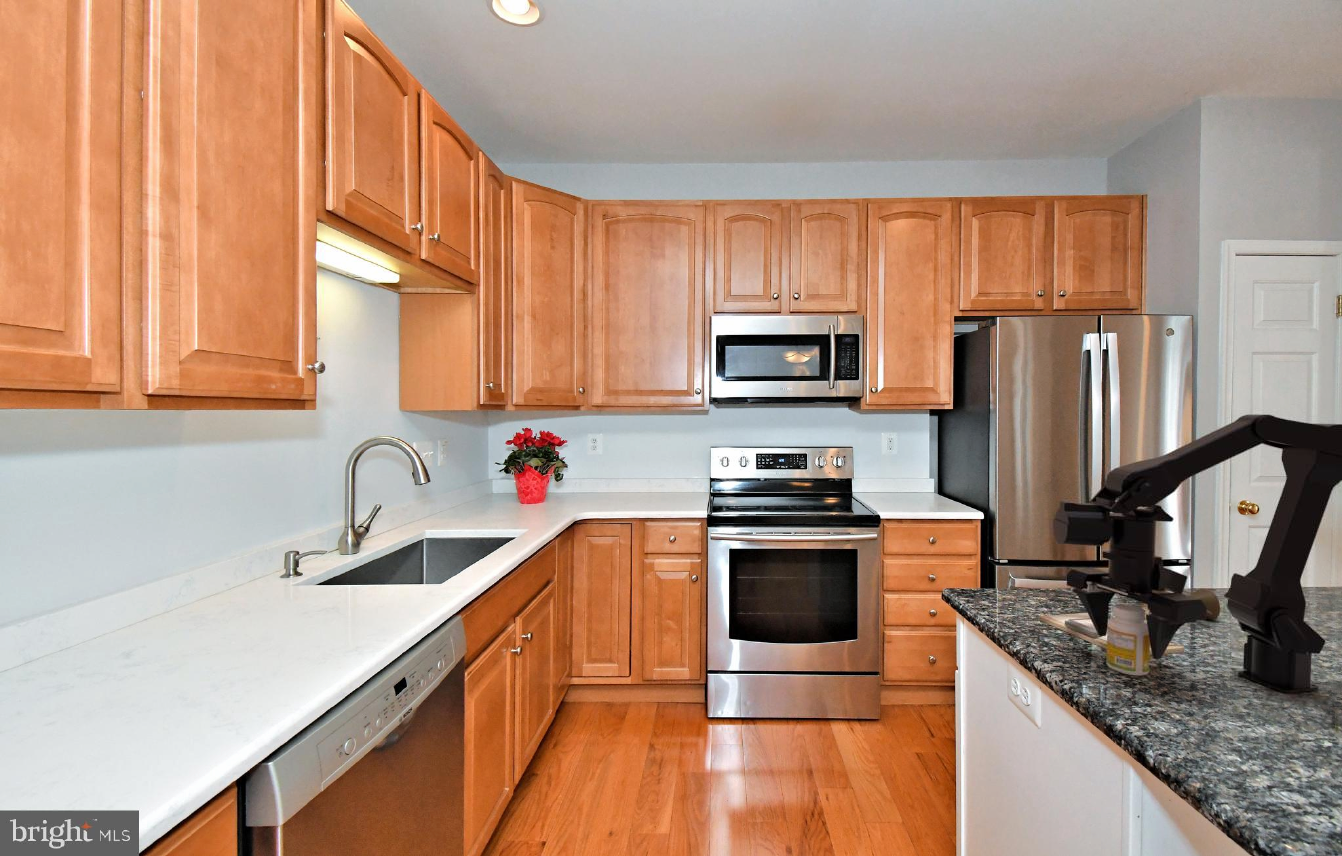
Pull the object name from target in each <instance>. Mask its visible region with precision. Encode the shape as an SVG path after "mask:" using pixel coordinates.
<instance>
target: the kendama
mask: <svg viewBox="0 0 1342 856" xmlns="http://www.w3.org/2000/svg"><path fill="white" fill-rule="evenodd" d="M1153 593H1156V594H1160V593H1170V591H1168V590H1165V591H1153ZM1135 594H1137V593H1135ZM1137 595H1141V594H1137ZM1187 596H1191V597H1194V598H1198V599H1201V600H1202V601H1203V603H1204V604H1205V605H1206V608H1207V611H1206V620H1209V621H1215V620H1216V619H1218V617H1220V614H1221V613H1220V612H1221V604H1220V601H1219V598H1218V596H1217V595H1216V594H1215V593H1214V592H1213V591H1211V590H1210V589H1207V588H1198V589H1196V590H1194V592H1192V593H1190V594H1188V595H1187Z"/></svg>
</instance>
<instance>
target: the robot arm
mask: <svg viewBox="0 0 1342 856" xmlns="http://www.w3.org/2000/svg"><path fill="white" fill-rule="evenodd" d="M1261 445H1265V446H1268V447H1271V448H1275V449H1280V450H1282V451H1281V463H1282V466H1283V468H1284V469H1283V470H1284V472H1285V477H1286V479H1285V483H1284V486H1283V488H1282V491H1281V493H1280V496H1279V500H1278V503H1277V505H1276V508H1275V512H1274V514H1273V516H1272V517H1273V518H1272V520H1271V522H1270V526H1269V528H1268V531H1267V535H1266V537H1265V540H1264V543H1263V545H1262V548H1261V551H1260V553H1259V558H1258V559H1257V563H1256V565H1255V567H1253V569H1252V570H1250V571H1249V572H1248V573H1246V574H1245V575H1242V574H1239V573H1235V572H1234V573H1233V574H1232V576H1231V579H1230V586H1229V588H1228V590H1227V592H1226V593H1225V594H1224V595H1223V597H1224V598H1226V599H1227V603H1226V607H1227V610H1228V611H1229V613H1230V615H1231V616H1232V617H1233V618H1234V619H1235V620H1237V623H1238V626H1239V628H1240V631H1241V632H1243V633H1247V636H1246V642H1245V643H1243V658H1242V659H1243V661H1242V668H1243V670H1238V671H1237V675H1238V676H1240V677H1243V678H1245V679H1249V680H1250V681H1254V682H1256V683H1258V684H1261V685H1264V686H1265V687H1269V688H1271V689H1274V690H1277V691H1279V692H1282V693H1285V694H1291V693H1301V692H1302V693H1303V692H1313V691H1319V690H1320V689H1319V687H1320V686H1318V685H1316V684H1313V683H1311V681H1312V679H1311V678H1312V676H1311V675H1312V658H1313V657H1312V656H1313V655H1312V654H1316V655H1318V654H1321V652H1322V650H1323V648H1324V646H1325V644H1326V639H1325V638H1323V637H1322V636H1321V635H1320V634H1319V633H1318V631H1315V629H1314V628H1312V627H1311V626H1310V625H1309V624H1308V623H1307V622H1306V621H1305V615H1306V608H1307V600H1306V597H1305V594H1304V590H1303V585H1302V582H1301V580H1302V576H1303V573H1304V571H1305V569H1306V566H1307V563H1308V559H1309V557H1310V554H1311V551H1312V548H1313V546H1314V543H1315V540H1316V537H1317V534H1318V532H1319V529H1320V525H1321V523H1322V520H1323V517H1324V514H1325V512H1326V509H1327V506H1328V503H1329V501H1330V498H1331V495H1332V492H1333V490H1334V488H1335V487H1336V486H1337V485H1338V484H1340V483H1341V482H1342V424H1341V423H1308V422H1303V421H1299V420H1293V419H1286V418H1282V417H1277V416H1276V415H1273V414H1244V415H1241V416H1239V417H1238V418H1237V419H1235V421H1232V422H1231V423H1229V424H1226V425H1224V426H1222V427H1220V428H1218V429H1216V430H1213V431H1211V432H1210V433H1208V434H1206V435H1204V436H1201V437H1199V438H1197V439H1195V440H1193V441H1191V442H1189V443H1186V444H1184V445H1182V446H1181V447H1179V448H1176V449H1174V450H1172V451H1169V452H1168V453H1166V454H1164V455H1160V456H1157V457H1153V458H1150V459H1149V458H1148V459H1144V460H1138V461H1135V462H1131V463H1128V464H1125V465H1121V466H1118V467H1115V468H1114V469H1112V470H1111V471H1109V472H1108V474H1107V475H1106V479H1105V484H1104V485H1103V486H1102V487H1101V488H1100V489H1099V491H1097V492H1096V494H1095V495H1094V496H1093V497H1092V498H1091V499H1090V501H1088V503H1087V502H1084V503H1083V502H1072V501H1070V500H1068V501H1067V500H1060V502H1059V508H1058V509H1057V510H1056V513H1055V515H1054V518H1052V519H1053V520H1052V529H1053V536H1054V538H1055V540H1056V542H1057V544H1060V545H1074V546H1092V547H1093V546H1094V547H1102V546H1104V545H1105V543H1109V545H1108V546H1109V547H1108V550H1104V551H1102V556H1101V558H1103V559H1106V560H1108V572H1107V571H1105V570H1101V569H1098V568H1096V567H1095V568H1094V567H1089V568H1085V567H1084V568H1071V569H1070V570H1069V571H1068V572H1067V574H1066V586H1068V587H1071V588H1072V592H1073V593H1075V595H1077V598H1078V599H1079V600H1080V603H1081V604H1082V606H1083V607H1084V609H1085V611H1086V613H1088V615H1089V617H1090V619H1091V621H1092V623H1093V625H1094V627H1095V629H1096V631H1097V633H1098V635H1099V636H1106V633H1107V626H1108V619H1109V611H1110V610H1109V609H1110V608H1109V607H1110V602H1111V600H1112V599H1113V598H1114V596H1115V595H1116V594H1117V595H1119V596H1122V597H1125V598H1128V599H1131V600H1134V601H1138V602H1141V603H1143V604H1147V609H1148V611H1149V612H1150V614H1145V621H1146V624H1147V627H1148V633H1149V640H1150V647H1151V651H1152V655H1151V656H1152V658H1153V659H1155V660H1160V659H1162V658H1163V656H1164V655H1165V654H1164V652H1165V650H1166V649H1167V647H1168V645H1169V643H1170V642H1171V641H1172V640H1173V637H1174V636H1175V634H1176V633H1177V632H1178V630H1179V629H1180V628H1181V627H1182V626H1184V625H1185V624H1192V623H1195V622H1196V621H1202V620H1203V621H1204V620H1207V619H1206V611H1207V608H1206V605H1205V604H1204V603H1203V601H1202V600H1201V599H1198V598H1194V597H1191V596H1188V595H1187V594H1184V589H1185V586H1186V583H1187V580H1188V575H1184V574H1183V573H1179V572H1178V571H1174V570H1172V569H1169V568H1166V567H1164V560H1163V558H1162V556H1158V555H1156V538H1157V537H1156V536H1157V535H1156V533H1157V532H1156V531H1157V522H1167V523H1168V522H1169V523H1171V522H1173V521H1174V517H1173V516H1171V515H1170V514H1169V513H1167V512H1166V511H1165V510H1164V509H1163V507H1162V506H1161V505H1159V504H1158V503H1160V502H1161V501H1163V500H1164V499H1166V498H1167V497H1169V496H1170V495H1172V494H1174V493H1175V492H1176V491H1177V490H1178V488H1179V487H1180V485H1181V484H1183V482H1185V481H1187V480H1188V479H1189V478H1191V477H1193V476H1195V475H1197V474H1199V473H1202V472H1204V471H1206V470H1208V469H1211V468H1213V467H1215V466H1217V465H1220V464H1221V463H1224V462H1226V461H1227V460H1230V459H1232V458H1234V457H1236V456H1239V455H1240V454H1242V453H1244V452H1246V451H1249V450H1251V449H1253V448H1255V447H1259V446H1261ZM1153 591H1167V592H1169V593H1160V594H1156V593H1153ZM1135 593H1137V594H1141V595H1137V594H1135Z"/></svg>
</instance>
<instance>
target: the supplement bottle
mask: <svg viewBox="0 0 1342 856" xmlns="http://www.w3.org/2000/svg"><path fill="white" fill-rule="evenodd" d="M1112 613H1113V617H1111V618H1108V619H1109V620H1108V626H1107V649H1106V660H1105V661H1106V665H1107V666H1108V668H1110V669H1111V670H1114V671H1116V672H1118V673H1122V674H1126V675H1129V676H1141V677H1142V676H1146V675H1148V674H1149V673H1150V656H1151V655H1150V640H1149V633H1148V627H1147V622H1146V623H1145V622H1144V621H1146V610H1145V609H1144V608H1142V607H1139V606H1137V605H1130V604H1125V603H1124V604H1121V603H1119V604H1114V605H1113V611H1112Z"/></svg>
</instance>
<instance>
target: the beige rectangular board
mask: <svg viewBox="0 0 1342 856" xmlns="http://www.w3.org/2000/svg"><path fill="white" fill-rule="evenodd" d="M1109 619H1110V618H1108V620H1109ZM1038 621H1040V622H1042V623H1045V624H1047V625H1050V626H1052V627H1054V628H1057V629H1058V630H1060V631H1064V632H1066V633H1068V634H1070V635H1072V636H1075V637H1077V638H1079V639H1082V640H1084V641H1086V642H1089V643H1091V644H1094V645H1096V646H1098V647H1101V648H1103V649H1105V650H1107V633H1106V636H1099V635H1098V633H1097V631H1096V629H1095V627H1094V625H1093V623H1092V621H1091V619H1090V617H1089V615H1088V613H1087V612H1083V613H1082V612H1081V613H1067V614H1065V613H1063V614H1051V615H1050V614H1049V615H1046V614H1045V615H1039V616H1038ZM1181 653H1185V647H1183V646H1180V645H1178V644H1176V643H1173V642H1171V641H1170V643H1169V645H1168V647H1167V649H1166V650H1165V652H1164V654H1163V655H1166V654H1167V655H1169V654H1181ZM1150 656H1153V655H1152V651H1151V647H1150Z"/></svg>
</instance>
